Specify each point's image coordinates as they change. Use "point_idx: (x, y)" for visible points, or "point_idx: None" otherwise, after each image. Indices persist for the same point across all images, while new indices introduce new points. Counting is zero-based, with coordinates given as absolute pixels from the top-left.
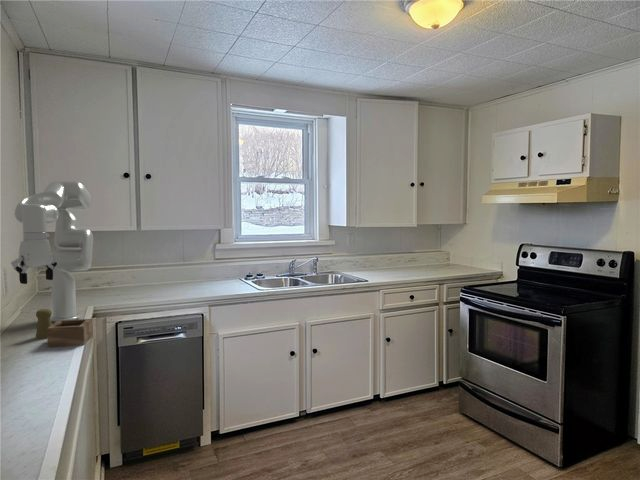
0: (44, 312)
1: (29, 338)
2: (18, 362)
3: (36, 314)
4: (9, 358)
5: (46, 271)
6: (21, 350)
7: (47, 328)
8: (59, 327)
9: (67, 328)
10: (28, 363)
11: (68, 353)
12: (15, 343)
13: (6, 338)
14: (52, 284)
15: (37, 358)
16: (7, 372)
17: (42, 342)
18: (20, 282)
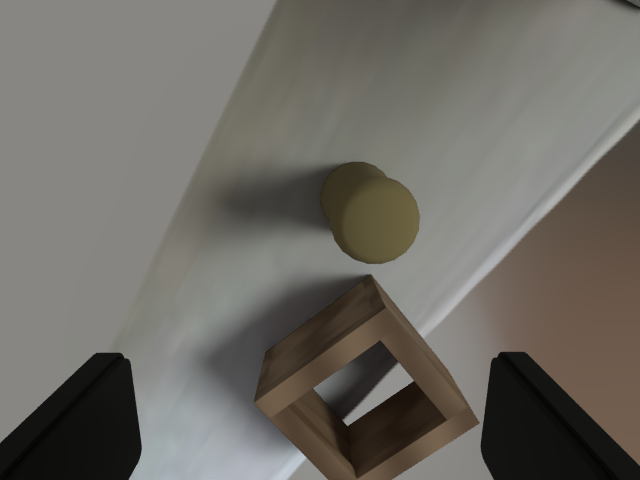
0: (356, 258)
1: (309, 159)
2: None
3: (332, 209)
4: None
5: (574, 477)
6: (191, 302)
7: (255, 403)
8: (291, 435)
9: (310, 457)
10: None
11: (256, 471)
12: (232, 182)
13: (257, 50)
14: None
15: (173, 434)
16: None
17: (296, 273)
18: (95, 359)
